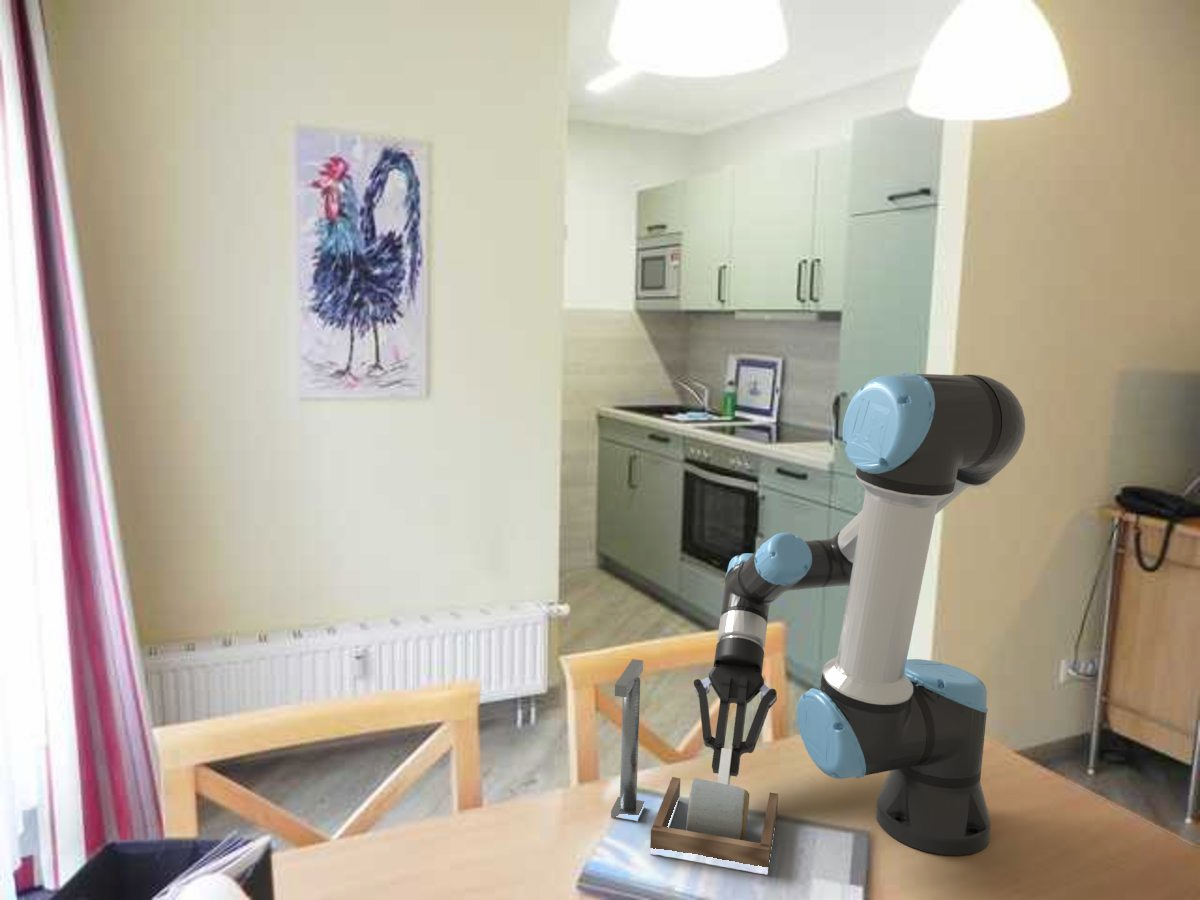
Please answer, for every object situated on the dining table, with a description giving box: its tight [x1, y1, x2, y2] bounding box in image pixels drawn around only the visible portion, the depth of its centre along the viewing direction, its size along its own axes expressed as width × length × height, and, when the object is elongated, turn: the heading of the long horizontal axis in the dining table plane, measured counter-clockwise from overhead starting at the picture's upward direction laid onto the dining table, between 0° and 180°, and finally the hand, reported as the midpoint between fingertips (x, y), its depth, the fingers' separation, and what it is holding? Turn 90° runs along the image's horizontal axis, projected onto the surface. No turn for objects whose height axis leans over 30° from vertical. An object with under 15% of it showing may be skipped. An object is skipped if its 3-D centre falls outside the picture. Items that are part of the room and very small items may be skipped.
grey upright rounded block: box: [685, 777, 751, 841], centre depth 122 cm, size 11×8×8 cm
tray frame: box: [649, 776, 779, 868], centre depth 121 cm, size 15×15×4 cm
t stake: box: [610, 658, 646, 819], centre depth 124 cm, size 4×10×22 cm, turn 164°
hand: (721, 796), depth 125 cm, fingers closed
